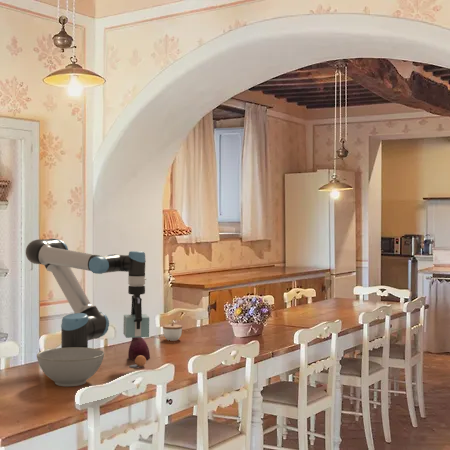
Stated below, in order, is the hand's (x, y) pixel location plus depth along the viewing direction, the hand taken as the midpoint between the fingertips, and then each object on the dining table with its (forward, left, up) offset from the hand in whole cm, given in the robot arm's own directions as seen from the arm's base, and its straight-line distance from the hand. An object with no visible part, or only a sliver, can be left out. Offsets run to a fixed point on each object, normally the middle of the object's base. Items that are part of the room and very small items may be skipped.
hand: (136, 334), depth 312 cm
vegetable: (+4, +18, -15) cm, 24 cm away
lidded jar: (+29, +64, -15) cm, 72 cm away
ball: (+2, 0, -12) cm, 12 cm away
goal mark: (0, 0, -15) cm, 15 cm away
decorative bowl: (-30, -25, -15) cm, 42 cm away
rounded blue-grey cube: (0, 0, -1) cm, 1 cm away
